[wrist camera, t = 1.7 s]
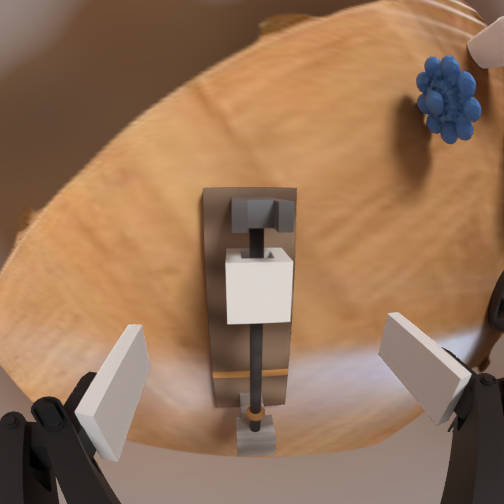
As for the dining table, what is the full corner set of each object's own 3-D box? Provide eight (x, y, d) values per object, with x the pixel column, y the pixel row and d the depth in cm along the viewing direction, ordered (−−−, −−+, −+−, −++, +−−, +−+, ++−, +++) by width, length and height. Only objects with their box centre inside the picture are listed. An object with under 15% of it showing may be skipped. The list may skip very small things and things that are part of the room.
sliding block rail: (204, 188, 30) (184, 187, 17) (293, 187, 31) (337, 188, 17) (216, 400, 37) (214, 472, 23) (283, 397, 37) (300, 467, 24)
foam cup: (475, 34, 25) (514, 18, 13) (496, 73, 27) (539, 63, 15) (454, 34, 26) (498, 13, 13) (478, 77, 28) (526, 64, 15)
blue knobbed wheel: (382, 75, 28) (434, 43, 16) (414, 70, 28) (466, 44, 16) (415, 153, 31) (478, 147, 19) (444, 142, 30) (503, 136, 19)
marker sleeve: (226, 248, 25) (225, 262, 20) (281, 247, 25) (293, 261, 20) (227, 299, 26) (227, 324, 21) (279, 298, 26) (290, 321, 22)
